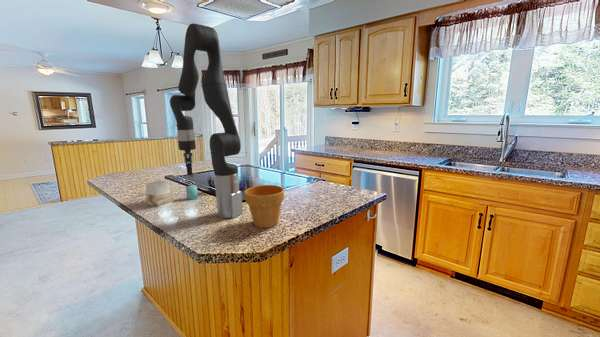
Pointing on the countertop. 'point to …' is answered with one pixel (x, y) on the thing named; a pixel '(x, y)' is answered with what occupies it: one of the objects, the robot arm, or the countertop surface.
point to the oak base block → (159, 199)
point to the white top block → (157, 187)
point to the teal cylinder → (192, 192)
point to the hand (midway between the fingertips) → (189, 173)
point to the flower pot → (265, 204)
